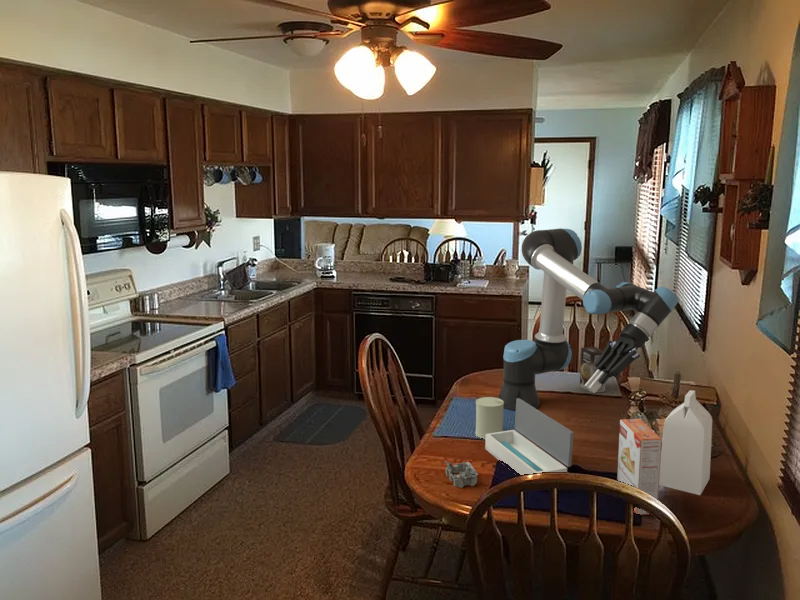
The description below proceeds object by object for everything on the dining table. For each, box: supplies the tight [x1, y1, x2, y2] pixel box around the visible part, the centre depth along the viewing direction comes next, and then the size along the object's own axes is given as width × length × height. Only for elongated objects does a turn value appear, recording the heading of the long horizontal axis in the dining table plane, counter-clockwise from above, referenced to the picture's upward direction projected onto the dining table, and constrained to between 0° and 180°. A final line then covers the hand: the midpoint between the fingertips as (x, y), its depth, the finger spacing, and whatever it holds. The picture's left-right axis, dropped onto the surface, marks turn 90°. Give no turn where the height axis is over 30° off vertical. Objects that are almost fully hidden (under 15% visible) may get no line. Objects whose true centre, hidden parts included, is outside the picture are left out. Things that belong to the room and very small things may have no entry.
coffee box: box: [579, 346, 607, 394], centre depth 272 cm, size 9×6×16 cm
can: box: [475, 396, 504, 440], centre depth 227 cm, size 9×9×12 cm
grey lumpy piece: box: [444, 460, 479, 489], centre depth 197 cm, size 11×8×4 cm
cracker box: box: [616, 418, 662, 516], centre depth 180 cm, size 14×6×21 cm, turn 3°
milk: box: [659, 389, 713, 496], centre depth 192 cm, size 12×12×26 cm
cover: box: [514, 398, 575, 468], centre depth 205 cm, size 10×30×1 cm
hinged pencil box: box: [484, 429, 568, 475], centre depth 204 cm, size 10×30×5 cm, turn 20°
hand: (589, 389), depth 208 cm, fingers closed
